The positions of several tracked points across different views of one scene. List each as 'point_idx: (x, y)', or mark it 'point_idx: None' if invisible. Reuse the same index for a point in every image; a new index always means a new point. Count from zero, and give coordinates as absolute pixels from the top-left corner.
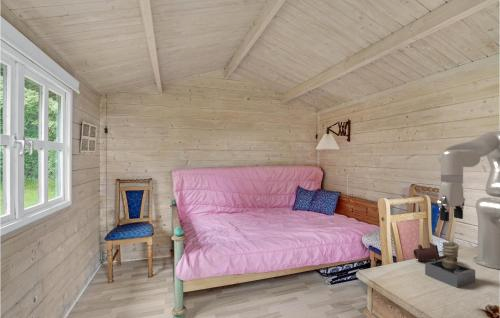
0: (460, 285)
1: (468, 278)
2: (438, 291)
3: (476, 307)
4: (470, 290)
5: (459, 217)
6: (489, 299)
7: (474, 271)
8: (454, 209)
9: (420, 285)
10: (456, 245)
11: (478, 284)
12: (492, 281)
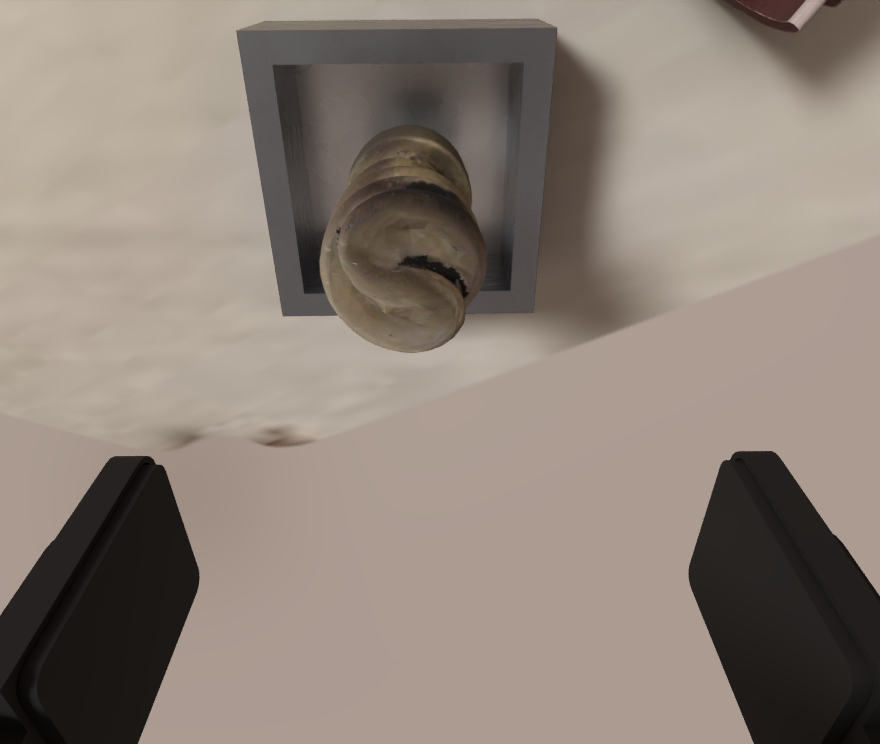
0: None
1: None
2: (123, 255)
3: (187, 424)
4: None
5: (701, 566)
6: (345, 409)
7: (518, 308)
8: (836, 673)
9: (55, 148)
10: (411, 342)
11: None
12: (643, 307)
